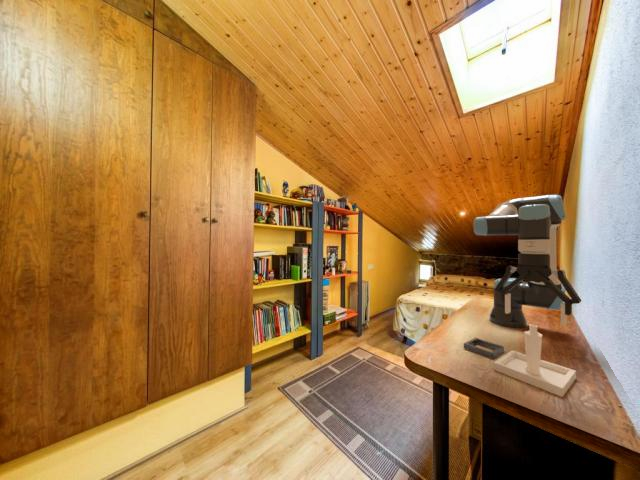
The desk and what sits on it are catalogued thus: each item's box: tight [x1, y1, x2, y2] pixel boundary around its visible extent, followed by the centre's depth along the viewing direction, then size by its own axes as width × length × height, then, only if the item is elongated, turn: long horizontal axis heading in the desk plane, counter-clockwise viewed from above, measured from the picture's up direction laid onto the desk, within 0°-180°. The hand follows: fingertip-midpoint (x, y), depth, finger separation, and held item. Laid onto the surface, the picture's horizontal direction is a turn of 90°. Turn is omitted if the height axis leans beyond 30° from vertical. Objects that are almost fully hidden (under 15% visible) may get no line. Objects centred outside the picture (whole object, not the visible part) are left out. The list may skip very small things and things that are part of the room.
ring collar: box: [463, 337, 505, 360], centre depth 90 cm, size 10×10×2 cm
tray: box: [493, 350, 577, 398], centre depth 74 cm, size 16×16×2 cm
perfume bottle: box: [523, 323, 543, 376], centre depth 74 cm, size 5×4×15 cm
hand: (533, 318), depth 74 cm, fingers open, 13 cm apart
